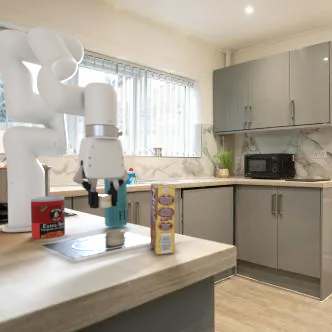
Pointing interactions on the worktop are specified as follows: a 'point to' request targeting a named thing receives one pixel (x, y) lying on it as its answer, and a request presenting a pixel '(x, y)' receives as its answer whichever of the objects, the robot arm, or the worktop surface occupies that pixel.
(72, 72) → the robot arm
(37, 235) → the canned food
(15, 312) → the worktop surface
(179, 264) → the worktop surface
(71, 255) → the chalkboard
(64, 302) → the worktop surface
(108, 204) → the puck eye
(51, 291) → the worktop surface
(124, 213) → the beverage bottle
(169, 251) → the candy box
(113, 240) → the puck eye
